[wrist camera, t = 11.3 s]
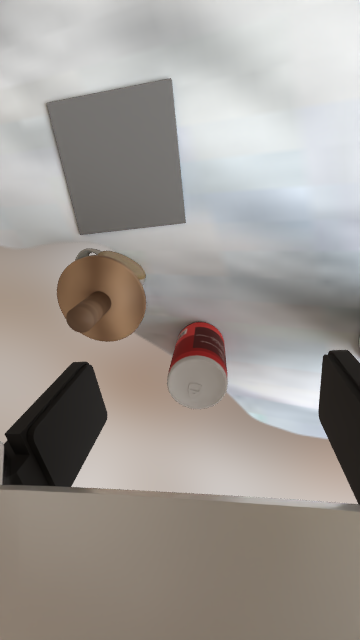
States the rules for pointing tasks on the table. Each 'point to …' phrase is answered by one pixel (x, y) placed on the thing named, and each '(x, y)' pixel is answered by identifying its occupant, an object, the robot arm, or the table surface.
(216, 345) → the canned food
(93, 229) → the mat
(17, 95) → the table surface
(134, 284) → the lid
